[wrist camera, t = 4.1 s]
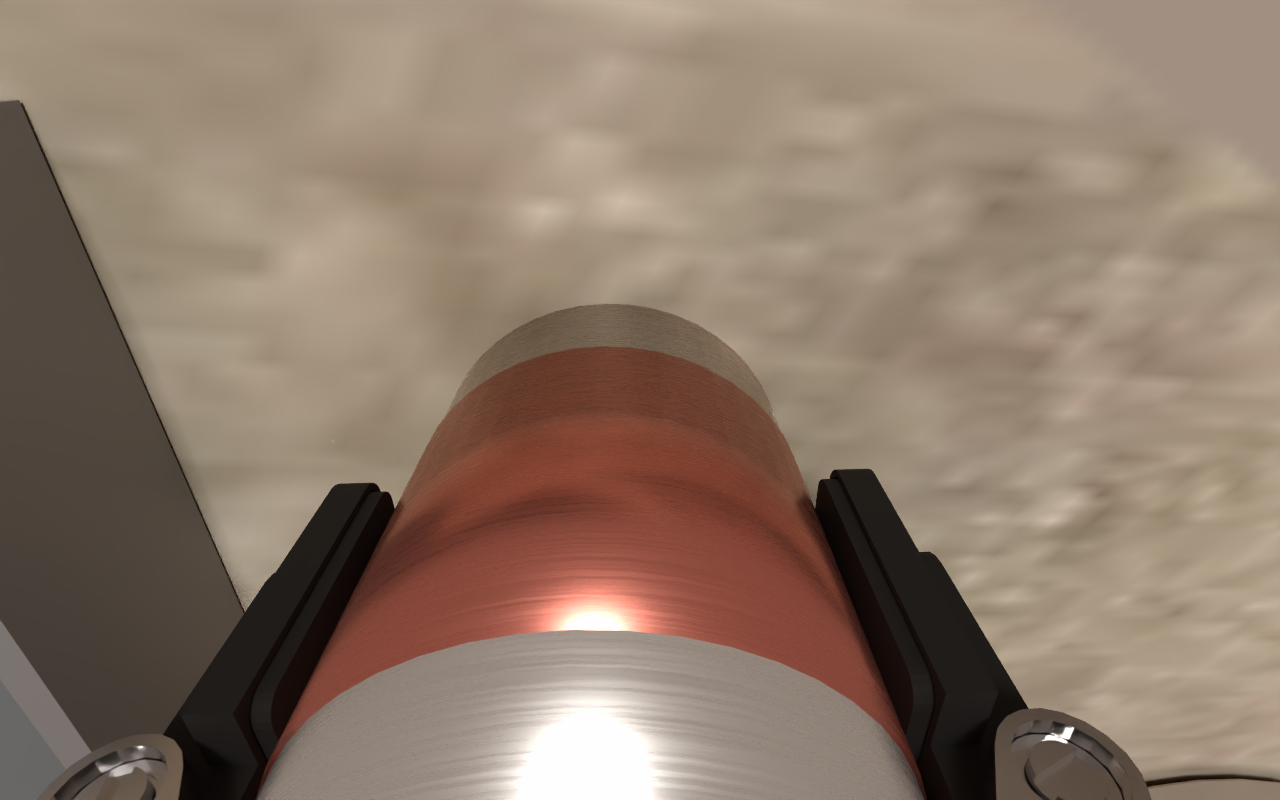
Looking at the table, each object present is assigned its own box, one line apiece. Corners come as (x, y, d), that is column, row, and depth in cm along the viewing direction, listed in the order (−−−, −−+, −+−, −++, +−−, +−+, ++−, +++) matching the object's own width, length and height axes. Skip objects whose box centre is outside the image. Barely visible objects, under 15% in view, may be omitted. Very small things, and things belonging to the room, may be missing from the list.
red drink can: (793, 295, 11) (1187, 900, 3) (767, 578, 14) (937, 1237, 6) (414, 306, 11) (-101, 939, 3) (470, 587, 14) (274, 1258, 6)
